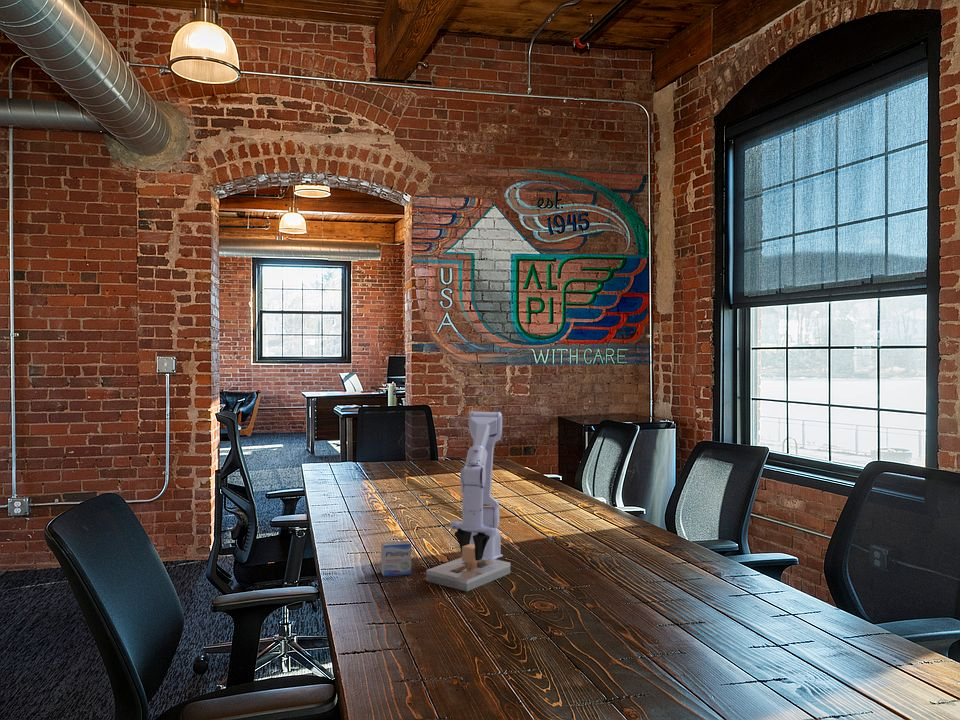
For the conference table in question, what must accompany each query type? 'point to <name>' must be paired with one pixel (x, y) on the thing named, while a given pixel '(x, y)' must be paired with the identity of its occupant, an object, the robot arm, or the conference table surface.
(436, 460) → the conference table surface
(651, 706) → the conference table surface
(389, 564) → the medicine box
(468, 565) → the headed stud
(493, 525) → the robot arm
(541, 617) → the conference table surface
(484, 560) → the keyhole plate
